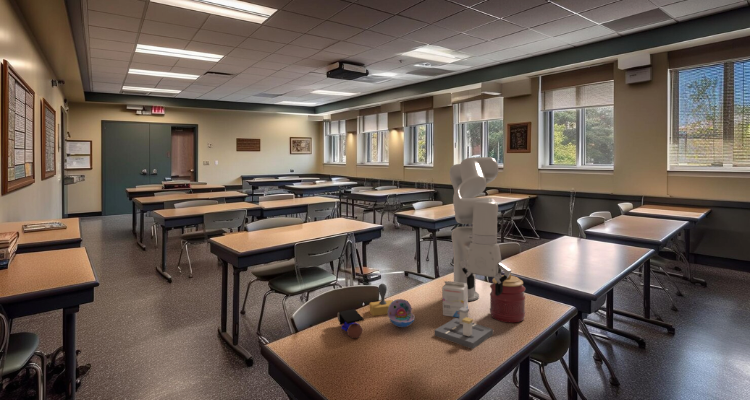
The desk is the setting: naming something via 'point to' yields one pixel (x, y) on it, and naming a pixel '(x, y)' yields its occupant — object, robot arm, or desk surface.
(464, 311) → the fader tab plain
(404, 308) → the cell model
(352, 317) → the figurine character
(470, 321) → the fader tab brass
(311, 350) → the desk surface
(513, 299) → the canister
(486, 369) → the desk surface
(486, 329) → the board
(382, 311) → the rubber stamp
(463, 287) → the ink box
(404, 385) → the desk surface
